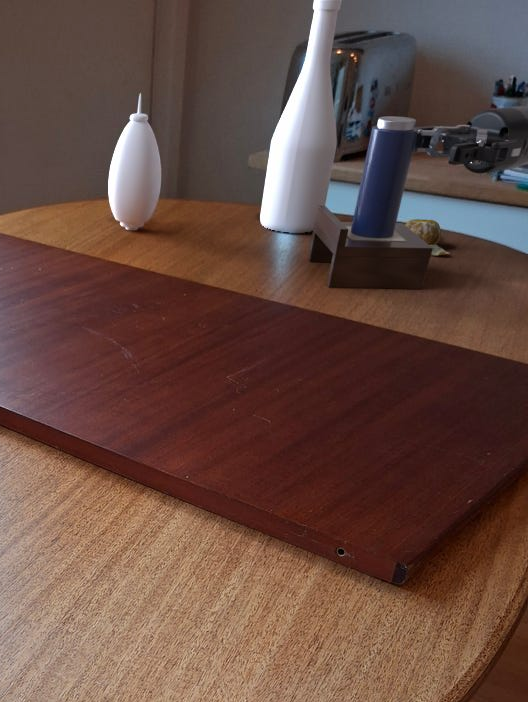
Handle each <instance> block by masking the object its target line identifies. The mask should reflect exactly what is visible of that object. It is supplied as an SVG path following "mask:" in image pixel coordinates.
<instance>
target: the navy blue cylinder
mask: <svg viewBox="0 0 528 702" xmlns="http://www.w3.org/2000/svg"><path fill="white" fill-rule="evenodd" d="M416 123H417V119H415V118H412V117H407V116H391V115H389V116H386V115H385V116H380V117H378V120H377V124H376V125H374V126H372V127H371V131H370V133H371V134H370V137H369V140H368V141H369V142H368V145H367V146H368V147H367V151H366V157H365V161H364V165H363V170H362V175H361V179H360V184H359V189H358V194H357V198H356V203H355V208H354V212H353V217H352V221H351V222H352V227H351V233H353V234H355V235H358V236H362V237H368V238H388V237H391V236H393V234H394V229H395V225H396V223H397V221H398V216H399V213H400V208H401V203H402V199H403V196H404V192H405V187H406V184H407V183H406V182H407V179H408V174H409V172H410V171H409V170H410V167H411V163H412V158H413V154H414V153H413V150H414V146H415V142H416V137H417V133H418V129H416V128H415V127H416Z"/></svg>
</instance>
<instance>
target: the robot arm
mask: <svg viewBox="0 0 528 702" xmlns="http://www.w3.org/2000/svg"><path fill="white" fill-rule="evenodd" d="M415 128H416V129H418V133H417V137H416V142H415V146H414V150H413V154H417V153H426V154H427V155H429V156H430V157H432V158H448V162H447V163H448V165H452V166H458V165H463V167H464V168H465V169H467V170H468V171H469V172H471V173H473V174H486V173H493V172H499V171H507V170H512V169H516V168H520V167H522V166H526V165H528V106H522V105H520V106H508V107H499V108H490V109H484V110H481V111H480V112H477V113H476V114H475V115H473V116H472V117H471V119H470V120H468V121H467V122H466V124H457V125H455V126H446V125H445V126H444V125H441V124H435V125H425V126H415ZM439 143H442V146H441V150H438V146H439Z"/></svg>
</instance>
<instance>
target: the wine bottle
mask: <svg viewBox="0 0 528 702" xmlns="http://www.w3.org/2000/svg"><path fill="white" fill-rule="evenodd" d="M342 1H343V0H313V5H312V9H313V10H314V11H313V17H312V21H311V27H310V31H309V37H308V42H307V49H306V54H305V59H304V62H303V66H302V68H301V71H300V72H299V73H300V74H299V76H298V78H297V81H296V83H295V85H294V87H293V89H292V92H291V94H290V96H289V99H288V100H287V103H286V106H285V107H284V110H283V112H282V114H281V116H280V119H279V121H278V122H277V125H276V128H275V130H274V132H273V135H272V138H271V140H270V147H269V155H268V160H267V167H266V175H265V181H264V188H263V195H262V201H261V207H260V208H261V209H260V214H259V221H260V224H261V226H262V227H263V226H264V227H263V228H265V229H267V228H268V229H267V230H269V229H271V230H270V231H272V230H275V231H274V232H277V231H281V232H280V233H283V232H289V233H288V234H306V233H305V232H308V233H312V232H311V231H313V229H314V224H315V218H316V213H317V208H318V205H320V206H326V203H327V197H328V193H329V189H330V188H329V187H330V182H331V176H332V172H333V166H334V161H335V157H336V156H335V155H336V150H337V145H338V144H337V143H338V137H337V124H336V115H335V107H334V106H335V105H334V97H333V87H332V86H333V85H332V76H331V60H332V59H331V58H332V51H333V46H334V39H335V34H336V33H335V32H336V28H337V27H336V26H337V19H338V12H339V11H340V10H341V6H342Z"/></svg>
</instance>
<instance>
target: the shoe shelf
mask: <svg viewBox="0 0 528 702" xmlns="http://www.w3.org/2000/svg"><path fill="white" fill-rule="evenodd" d="M352 222H353V221H341V220H340V219H339V218H338V217H337V216H336V215H335V214H334V213H333V212H332V211H331V210H330V209H329V208H328V207H327V206H326V205H325V206H320V205H318V208H317V213H316V218H315V224H314V229H313V232H312V235H311V239H310V240H311V241H310V246H309V251H308V256H307V260H308V262H309V263H330V266H329V271H328V276H327V283H326V285H327V287H328V288H340V289H341V288H343V289H392V290H393V289H395V290H397V289H398V290H423V287H424V283H425V279H426V275H427V272H428V268H429V264H430V260H431V258H432V257H431V256H432V254H431V253H432V250H433V248H432V247H431V246H430V245H428V244H427V243H426V242H425V241H423V240H422V239H421V238H420V237H419V236H417V235H416V234H415V233H414V232H413V231H411V230H410V229H409V228H408V227H407V226H405V224H404V223H403V222H396V225H395V229H394V234H393V236H391V237H388V238H368V237H362V236H358V235H355V234H353V233H351V227H352Z"/></svg>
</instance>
